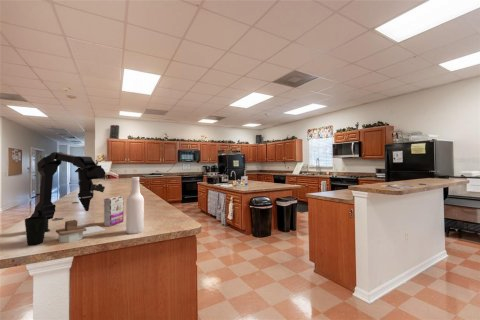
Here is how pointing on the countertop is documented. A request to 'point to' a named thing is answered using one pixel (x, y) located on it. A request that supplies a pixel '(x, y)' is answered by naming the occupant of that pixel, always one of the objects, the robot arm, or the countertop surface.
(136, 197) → the alcohol
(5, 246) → the countertop surface
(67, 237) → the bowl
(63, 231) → the lid
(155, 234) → the countertop surface
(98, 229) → the mat
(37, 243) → the cup
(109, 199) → the candy bar box
